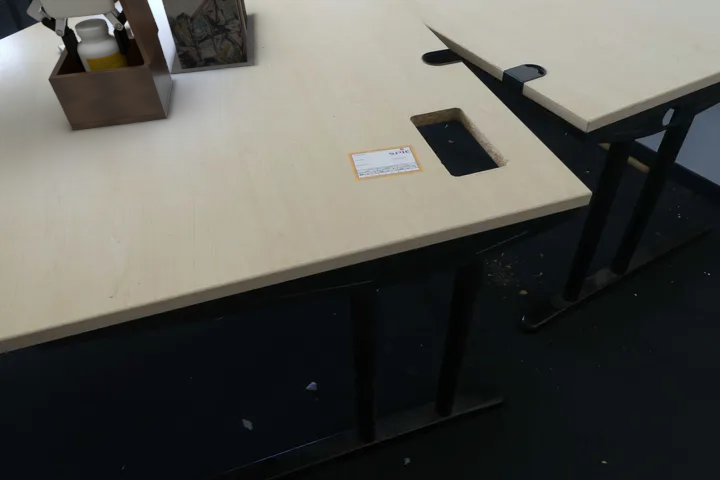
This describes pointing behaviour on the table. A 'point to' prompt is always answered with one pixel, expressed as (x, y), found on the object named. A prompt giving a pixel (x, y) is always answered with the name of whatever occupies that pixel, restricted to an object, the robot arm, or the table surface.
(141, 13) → the lid
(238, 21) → the bookend
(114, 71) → the chest
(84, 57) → the supplement bottle
